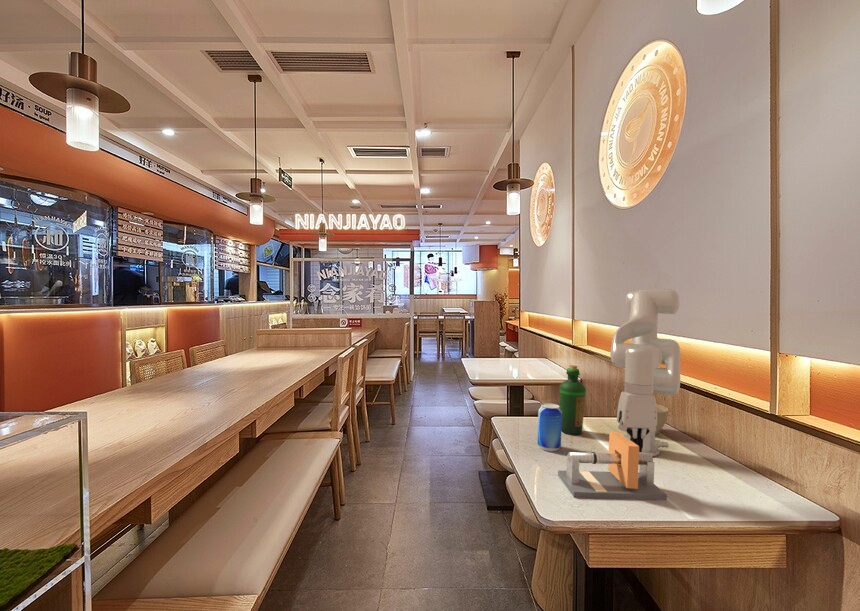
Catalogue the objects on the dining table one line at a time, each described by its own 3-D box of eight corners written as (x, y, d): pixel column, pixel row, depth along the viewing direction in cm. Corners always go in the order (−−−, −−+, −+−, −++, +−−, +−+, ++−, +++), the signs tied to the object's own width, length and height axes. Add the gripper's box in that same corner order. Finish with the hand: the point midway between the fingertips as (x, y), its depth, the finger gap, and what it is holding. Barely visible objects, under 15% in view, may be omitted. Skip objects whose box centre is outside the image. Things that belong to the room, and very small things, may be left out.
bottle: (588, 436, 162) (590, 368, 161) (562, 436, 162) (564, 367, 162) (579, 428, 173) (581, 364, 172) (554, 427, 173) (556, 363, 172)
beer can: (557, 444, 152) (559, 403, 152) (563, 453, 144) (564, 409, 143) (535, 443, 153) (536, 402, 153) (539, 451, 145) (540, 408, 144)
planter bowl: (627, 423, 181) (628, 399, 181) (668, 430, 172) (669, 406, 172) (621, 432, 168) (622, 407, 168) (665, 441, 159) (666, 414, 159)
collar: (617, 470, 124) (619, 432, 124) (637, 488, 112) (639, 446, 112) (608, 469, 124) (609, 431, 124) (627, 488, 112) (628, 446, 112)
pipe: (645, 479, 120) (646, 451, 120) (653, 486, 116) (654, 456, 116) (566, 477, 121) (567, 449, 120) (571, 484, 116) (572, 454, 116)
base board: (640, 477, 125) (640, 472, 125) (666, 499, 111) (666, 493, 111) (557, 475, 125) (558, 469, 125) (573, 497, 111) (574, 491, 111)
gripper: (656, 386, 122) (654, 446, 122) (607, 385, 121) (605, 445, 122) (671, 392, 114) (668, 456, 114) (619, 391, 114) (617, 454, 114)
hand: (636, 450), depth 118 cm, fingers closed
